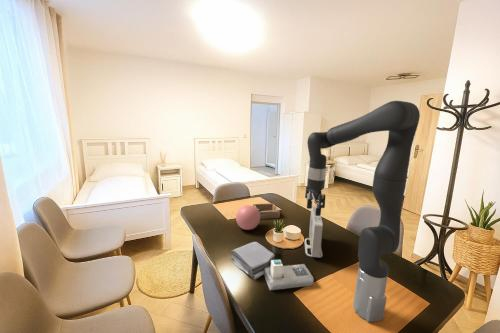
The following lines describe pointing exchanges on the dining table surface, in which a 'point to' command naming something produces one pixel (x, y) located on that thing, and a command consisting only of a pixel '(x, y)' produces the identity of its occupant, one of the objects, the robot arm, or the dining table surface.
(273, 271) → the plug
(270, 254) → the towel
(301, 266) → the patch panel
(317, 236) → the network device
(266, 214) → the coaster tray
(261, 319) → the dining table surface
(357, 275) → the robot arm
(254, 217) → the pink rubber ball
